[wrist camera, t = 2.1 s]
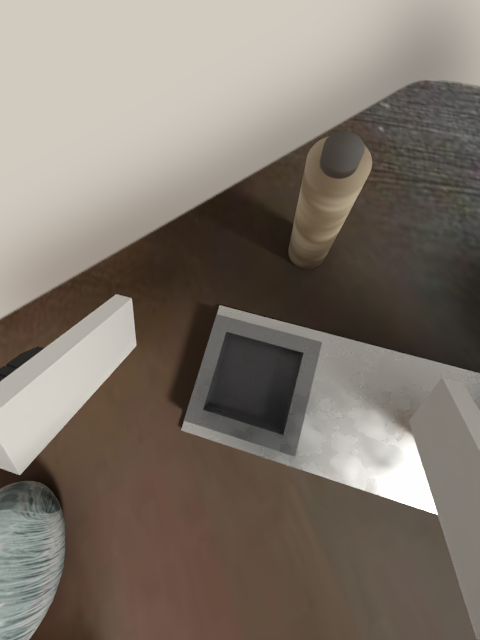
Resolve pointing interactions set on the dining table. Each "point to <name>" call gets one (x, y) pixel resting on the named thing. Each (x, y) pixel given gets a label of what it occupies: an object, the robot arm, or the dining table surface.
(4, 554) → the spool
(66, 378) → the robot arm
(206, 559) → the dining table surface
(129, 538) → the dining table surface
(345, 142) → the birch leg peg
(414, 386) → the bolt plate
